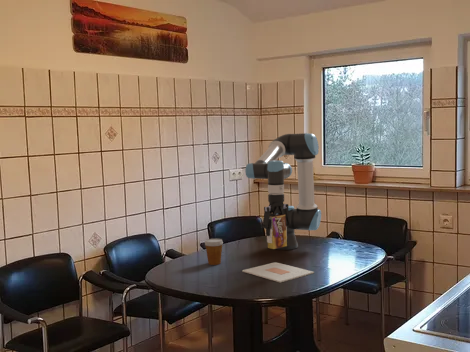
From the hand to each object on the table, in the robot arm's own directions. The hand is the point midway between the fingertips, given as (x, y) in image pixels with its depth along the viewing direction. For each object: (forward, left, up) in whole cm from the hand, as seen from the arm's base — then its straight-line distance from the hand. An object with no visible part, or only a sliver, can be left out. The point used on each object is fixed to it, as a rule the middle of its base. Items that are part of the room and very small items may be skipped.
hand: (277, 241), depth 259 cm
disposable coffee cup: (-35, -11, -15) cm, 40 cm away
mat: (0, 0, -15) cm, 15 cm away
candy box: (0, 0, -3) cm, 3 cm away
